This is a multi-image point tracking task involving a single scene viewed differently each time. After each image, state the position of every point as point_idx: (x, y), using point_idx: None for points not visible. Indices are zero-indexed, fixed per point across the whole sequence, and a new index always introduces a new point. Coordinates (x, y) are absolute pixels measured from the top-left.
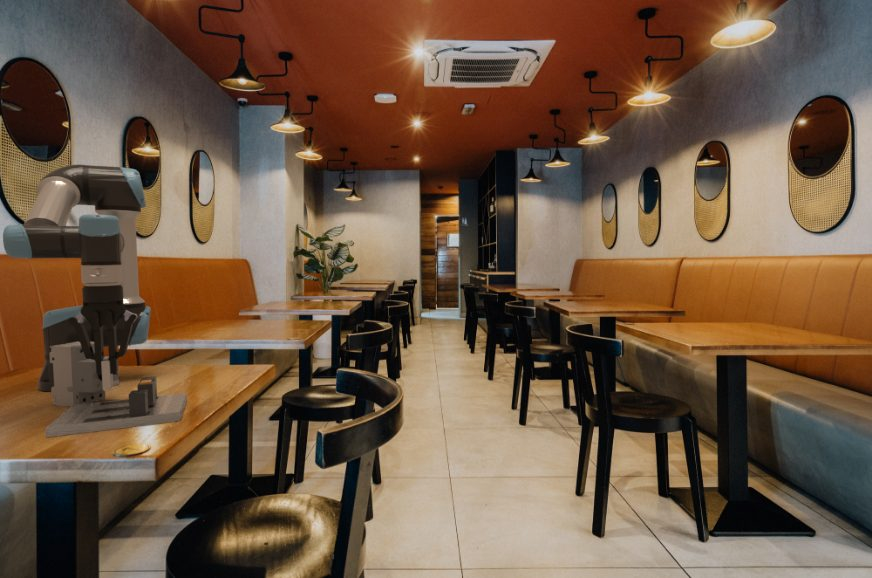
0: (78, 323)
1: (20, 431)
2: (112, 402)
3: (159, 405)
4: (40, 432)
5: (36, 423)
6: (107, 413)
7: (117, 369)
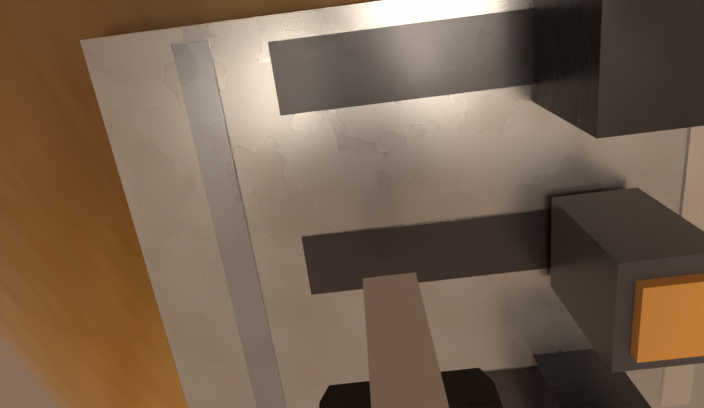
0: None
1: (30, 310)
2: (348, 78)
3: None
4: (142, 351)
5: (14, 194)
6: None
7: (496, 397)
